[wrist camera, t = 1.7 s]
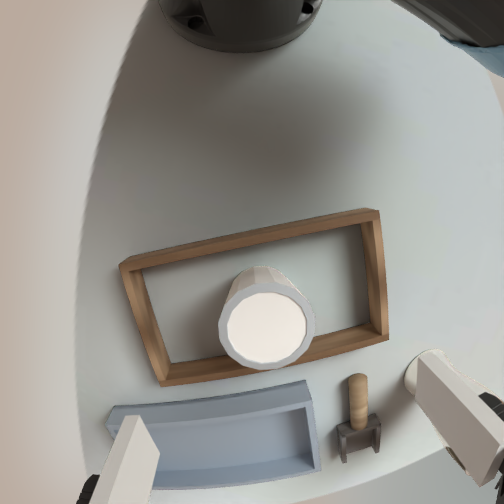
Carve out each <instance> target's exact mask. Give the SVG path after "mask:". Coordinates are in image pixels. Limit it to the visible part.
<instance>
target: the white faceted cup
mask: <svg viewBox="0 0 504 504" xmlns="http://www.w3.org/2000/svg"><path fill="white" fill-rule="evenodd" d="M218 329H219V339H220V342H221V344H222V345H223V347H224V349H225V350H226V352H227V354H228V355H229V356H230V357H232V358H233V359H234V360H236V361H237V362H238V363H240V364H241V365H243V366H246V367H250V368H254V369H257V370H268V369H278V368H281V367H283V366H285V365H288V364H290V363H292V362H295V361H296V360H297V359H298V358H299V357H300V356H301V355H302V354H303V353H304V352H305V351H306V350H307V349H308V347H309V345H310V343H311V341H312V339H313V337H314V335H315V314H314V312H313V310H312V308H311V305H310V303H309V301H308V300H307V299H306V297H305V296H304V295H303V294H302V293H301V292H300V291H299V290H298V289H297V288H296V287H295V286H294V285H293V284H292V283H291V282H290V281H289V280H288V279H287V278H286V277H285V276H284V275H283V274H282V273H281V272H280V271H279V270H277V269H274V268H271V267H268V266H253V267H251V268H249V269H247V270H245V271H242V272H241V273H240V274H239V275H238V276H237V278H236V279H235V280H234V281H233V283H232V286H231V289H230V291H229V294H228V297H227V299H226V302H225V305H224V308H223V310H222V313H221V316H220V319H219V322H218Z"/></svg>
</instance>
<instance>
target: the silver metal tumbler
mask: <svg viewBox="0 0 504 504" xmlns="http://www.w3.org/2000/svg"><path fill="white" fill-rule="evenodd" d="M429 352H432V353H433V354H435V355H436V356H437V357H438V358H439V359H440V360H441V361H442V362H443V363H444V364H445V365H446V366H447V367H448V368H449V369H450V370H452V371H453V372H454V373H455V374H456V375H457V376H458V377H459V378H460V379H461V380H462V381H463V382H464V383H465V384H466V385H467V386H468V387H469V388H470V389H471V390H472V391H473V392H474V393H475V394H476V395H477V396H478V395H480V394H482V393H484V392H487V393H489V394H492V395H494V396H496V397H497V398H498V399H499V400H500V401H501V402H502V404H504V402H503V401H502V400H501V399H500V398H499V397H498V396H497V395H496V394H495V393H494V392H492V391H491V390H490V389H489V388H487V387H486V386H484V385H482V384H481V383H479V382H477V381H476V380H474V379H472V378H470V377H468V376H466V375H465V374H463V373H461V372H460V371H458V370H457V369H456V368H455V367H454V366H453V365H452V364H451V362H450V360H449V359H448V357H447V356H446V354H445V353H444V352H443V351H441V350H439V349H430V350H427V351H425V352H423V353H421V354H420V355H418V356H421V355H424V354H426V353H429ZM418 356H417V357H416V358H415V359H414V360H413V361H412V362H411V364H410V365H409V367H408V368H407V370H406V373H405V376H404V385H405V387H406V389H407V390H408V391H409V392H410V393H411V394H413V395H414V396H415V393H416V381H417V367H418ZM432 425H433V423H432ZM433 427H434V429H435V431H436V433H437V435H438V437H439V439H440V441H441V443H442V444H443V446H444V447H445V449H446V450H447V451H448V453H449V454H450V455H451V456H452V458H453V459H454V460H455V461H456V462H457V463H458V465H459V466H460V467H461V468H462V469H463V470H464V471H465V473H466V474H467V475H469V476H471V475H470V474H469V472H468V471H467V469H466V468H465V467H464V465H463V464H462V463H461V461H460V460H459V458H458V457H457V456H456V454H455V453H454V452H453V450H452V449H451V447H450V446H449V445H448V443H447V442H446V441H445V439H444V438H443V437H442V435H441V434H440V433H439V431H438V430H437V429H436V427H435V426H434V425H433Z"/></svg>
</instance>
